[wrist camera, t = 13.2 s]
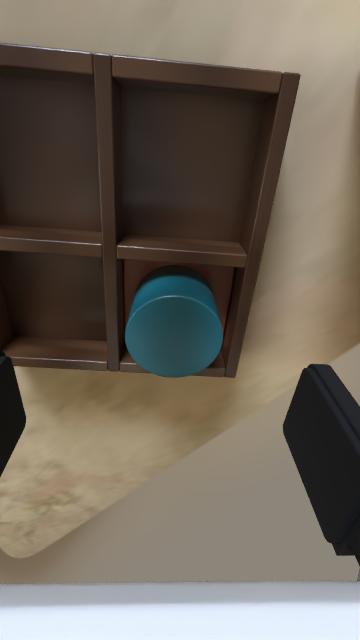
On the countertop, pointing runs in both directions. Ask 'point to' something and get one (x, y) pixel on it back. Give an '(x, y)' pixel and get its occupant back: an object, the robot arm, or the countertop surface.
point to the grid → (129, 195)
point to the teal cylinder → (174, 323)
